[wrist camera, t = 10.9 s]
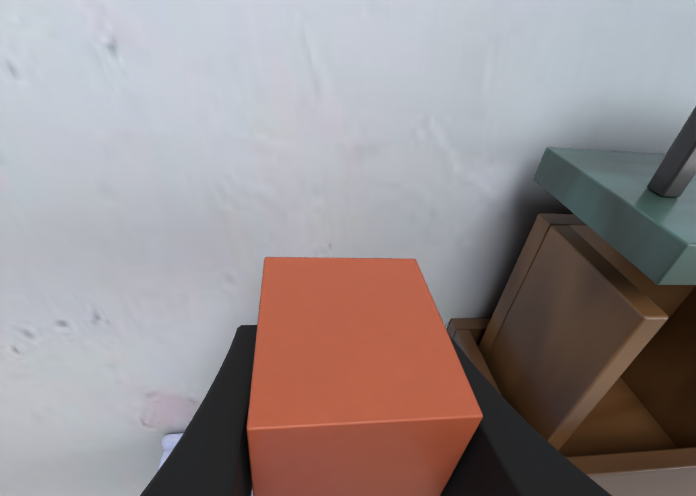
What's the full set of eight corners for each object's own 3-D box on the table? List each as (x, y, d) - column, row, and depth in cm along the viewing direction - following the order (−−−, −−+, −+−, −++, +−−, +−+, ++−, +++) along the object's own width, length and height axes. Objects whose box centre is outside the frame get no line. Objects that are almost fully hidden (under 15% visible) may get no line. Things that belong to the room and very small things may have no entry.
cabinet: (451, 318, 18) (525, 481, 13) (652, 315, 20) (801, 457, 14) (401, 454, 26) (432, 595, 20) (550, 443, 28) (619, 571, 22)
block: (267, 358, 13) (256, 529, 9) (264, 256, 11) (245, 430, 6) (391, 354, 14) (431, 512, 10) (416, 257, 11) (484, 416, 7)
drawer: (617, -26, 10) (892, -26, 5) (911, 16, 12) (1318, 44, 7) (450, 374, 20) (498, 495, 15) (621, 368, 21) (711, 476, 17)
